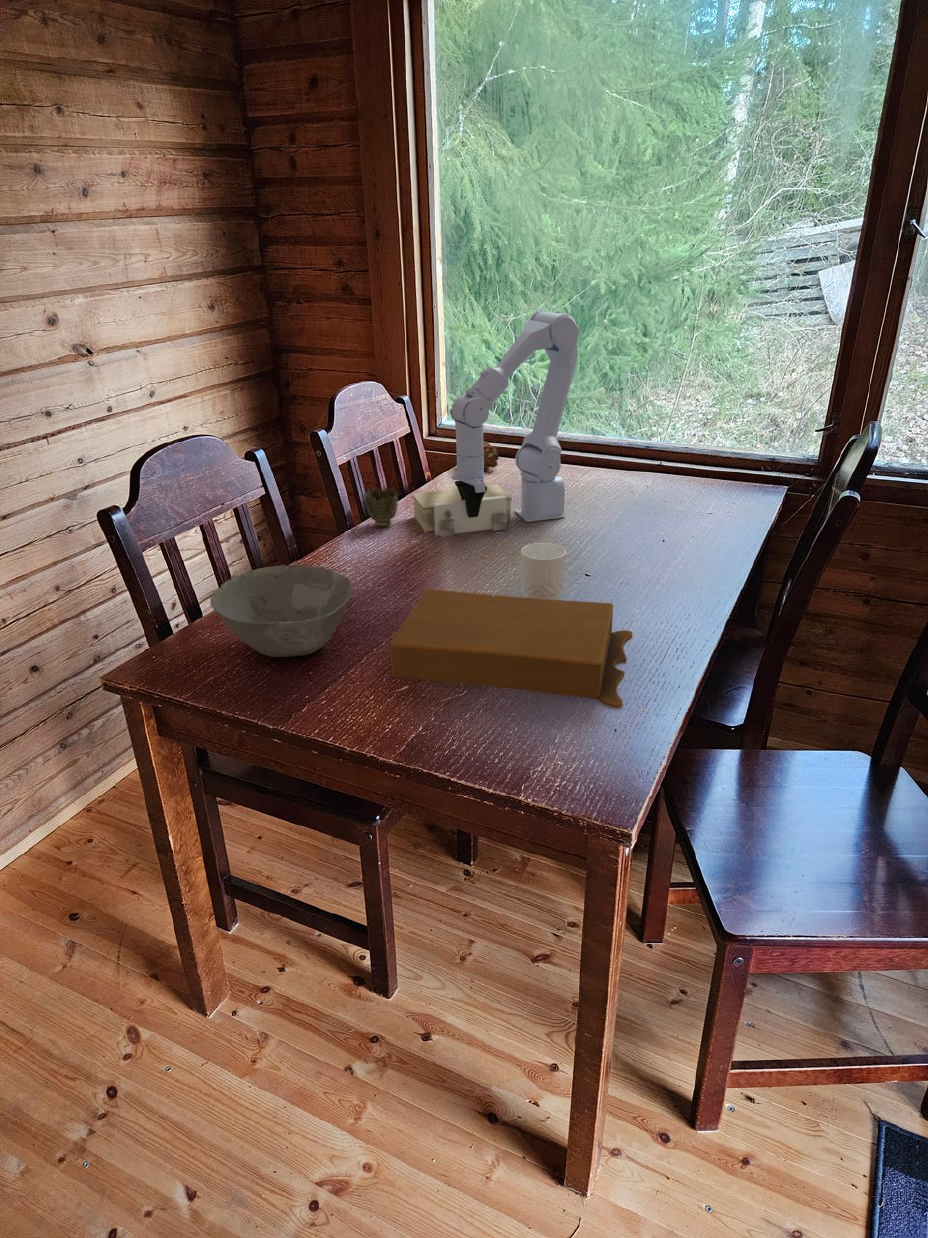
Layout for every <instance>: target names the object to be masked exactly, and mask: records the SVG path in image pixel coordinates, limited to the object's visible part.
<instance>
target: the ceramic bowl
mask: <svg viewBox="0 0 928 1238" xmlns="http://www.w3.org/2000/svg"><path fill="white" fill-rule="evenodd" d="M353 591H354V585H353V583H352V580H351V579H350V578H349V577H348V576H346V575H345V574H343V573H340V572H338V571H336V570H333V569H330V568H326V567H322V566H315V565H313V566H312V565H309V564H300V563H293V564H287V565H285V564H282V565H277V566H268V567H260V568H256V569H252V570H248V571H246V572H243V573H241V574H240V575H239V574H238V575H235V576H233V577H232V578H231V577H230V579H227V580H226V581H225V582H223V583H222V584H220V587H217V588H216V589H215V590H214V591H213V592H212V594H211V597H210V606H211V608H212V609H213V610H214V612H215V613H216V614H217V615H218V616H219V617H220V619H221V620H223V621H222V622H224V623H225V625H226V626H227V627H228V629H230V630H231V632H232V633H233V634H235V636H236V637H238V639H240V640H241V641H242V642H243V643H245V644H246V645H248V646H249V647H251V649H254V650H255V651H257V652H258V653H259V654H261V655H263V656H267V657H271V658H290V657H300V656H301V657H302V656H308V655H311V654H313V653H315V652H316V651H319V649H321V648H323V647H325V646H326V644H327V643H328V641H330V639H331V638H332V637H333V635H334V633H335V631H337V627H338V626H339V625H340V623H341V621H342V619H343V617H344V615H345V613H346V610H347V608H348V605H349V603H350V600H351V598H352V595H353Z"/></svg>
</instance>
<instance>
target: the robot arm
mask: <svg viewBox="0 0 928 1238" xmlns="http://www.w3.org/2000/svg"><path fill="white" fill-rule="evenodd" d="M580 332H581V329H580V327H579V325H578V323H577V321H576V320H575V318H574V317H573V316H572V315H571V314H568V313H558V312H550V311H547V310H542V309H540V310H537V311H535V312H534V313H533V314H532V315H531V316H530V318H529V319H528V320H526V322H525V323H524V324H523V328H522V331H521V333H520V334H519V335H518V337H517V338H516V339H515V341H514V342H513V343H512V345H511V346H510V347H509V349H508V350H507V351H506V353H505V354H504V355H503V357H502V358H501V359H500V361H499V362H498V363H497V365H495V366H489V367H487V368H486V369H485V368H484V369H482V370H481V372H480V373H479V375H480V376H479V377H478V378H477V380H476V381H475V382H474V383H473V385H471V386H470V388H469V387H468V388H467V389H466V390H465V394H462V395H459V396H458V397H456V398H455V399H454V401H453V403H452V407H451V408H450V409H449V414H450V417H451V418H452V420H453V421H454V426H455V442H456V443H455V444H456V445H455V446H456V473H455V474H451V479H452V480H454V485H455V487H456V489H458V491H459V493H460V496H461V500H465V503H466V509H467V514H468V517H469V518H471V517H478V515H479V510H480V506H481V502H482V499H483V496H484V494H485V492H486V491H487V487H486V486H487V485H486V483H485V478H486V474H485V472H484V454H483V441H484V423H486V422H487V421H488V418H489V415H490V410H491V409H492V406H493V405H494V404H495V402H496V401H497V400H498V399H499V398H500V397H501V396H502V395H503V393H504V392H505V391H506V389H507V388H508V387H509V382H510V381H509V378H510V376H512V375H513V373H514V372H516V371H517V369H518V368H519V367H520V366H521V365H523V363H524V362H525V361H526V360H527V359H528V358H529V357H530V356H531V355H532V354H533V353H534V352H535V351H539V350H544V352H545V353H546V354H547V356H548V358H549V365H548V369H547V374H546V377H545V382H544V385H543V388H542V393H541V396H540V401H539V404H538V408H537V413H536V416H535V420H534V424H533V428H532V431H531V432H529V433H528V434H527V435H526V436H525V437H523V440H522V441H523V442H522V444H521V446H520V448H519V449H518V450H517V452H516V453H515V454H516V455H515V464H516V467H517V468H518V470H519V471H520V476H521V489H520V491H521V495H520V496H521V497H520V498H521V499H520V500H521V502H520V503H521V505H520V508H515V509H514V510H515V511H514V512H515V513H517V514H518V515H519V517H521V519H523V520H524V521H525V522H527V523H530V522H538V521H546V520H547V521H548V520H554V519H562V518H565V517H566V515H565V497H566V495H565V493H566V492H565V491H566V488H565V483H564V480H563V478H562V477H561V475H558V474H559V473H560V470H561V464H562V463H561V454H562V447H561V445H560V442H559V441H558V438H557V436H558V433H559V429H560V426H561V422H562V418H563V414H564V410H565V406H566V402H567V399H568V395H569V392H570V389H571V388H570V387H571V384H572V381H573V376H574V373H575V369H576V365H577V361H578V357H579V356H578V355H579V354H578V351H579V350H578V338H579V333H580Z"/></svg>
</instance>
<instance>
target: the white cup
mask: <svg viewBox="0 0 928 1238" xmlns="http://www.w3.org/2000/svg"><path fill="white" fill-rule="evenodd" d="M520 556H521V557H520V559H521V560H520V561H521V562H520V563H521V579H522V580H521V581H522V590H523V598H537V599H552V600H562V594H563V593H562V592H563V589H564V580H565V570H566V568H565V567H566V556H567V550H566V548H565V547H564V546H562V545H560V544H556V543H552V542H551V543H550V542H535V543H530V544H527V545H525V546H523V547H522V548H521V551H520Z"/></svg>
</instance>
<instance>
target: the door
mask: <svg viewBox="0 0 928 1238" xmlns="http://www.w3.org/2000/svg"><path fill="white" fill-rule="evenodd" d="M499 513H506V497H505V496H504V495H503V496H495V497H486V498H483V499H482V502H481V506H480V510H479V515H478V517H471V518H469V517H468V514H467V509H466V503H465V500H459V501H451V502H442V503H434V521H435V530H434V534H435V536H440V521H441V520H449V519H453V520H454V534H462V533H469V532H478V531H487V530H493V529H492V514H499Z"/></svg>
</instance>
